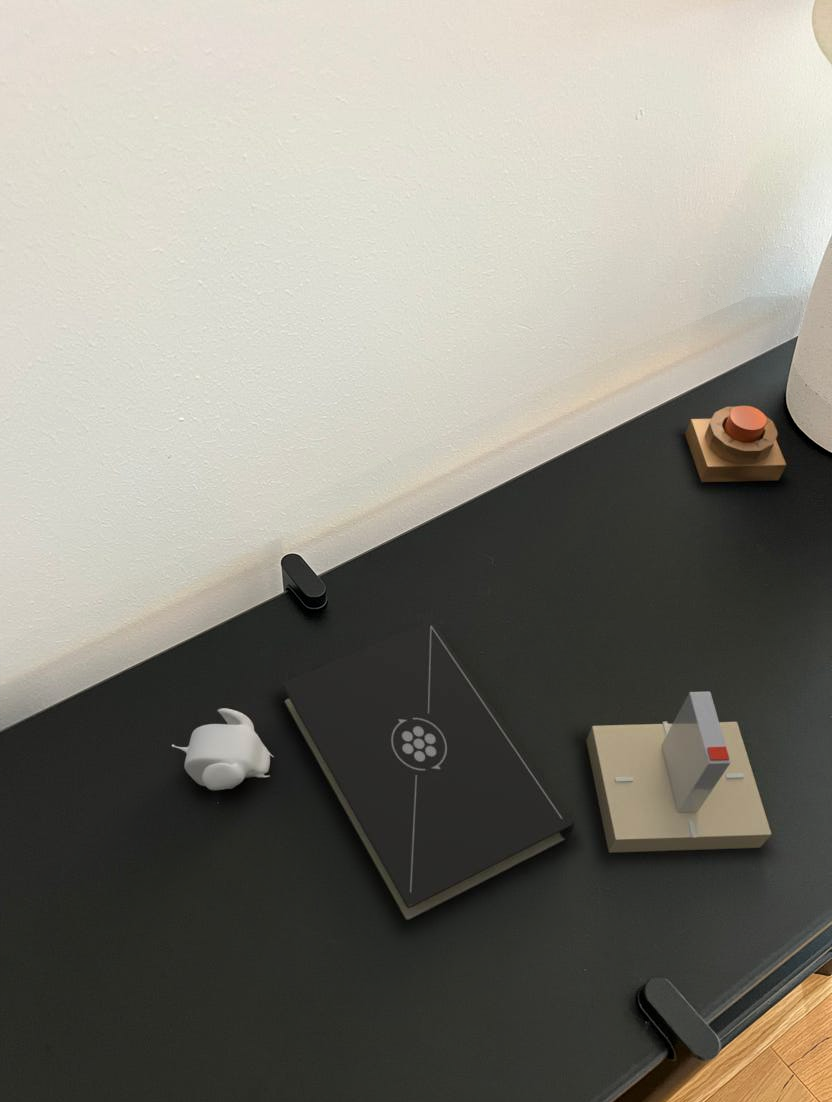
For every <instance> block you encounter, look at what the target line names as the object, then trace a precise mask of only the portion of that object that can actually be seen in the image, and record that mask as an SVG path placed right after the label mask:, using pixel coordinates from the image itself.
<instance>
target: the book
mask: <svg viewBox="0 0 832 1102" xmlns="http://www.w3.org/2000/svg"><path fill="white" fill-rule="evenodd" d="M478 684H479V683H477V682H476V680H475V678H474V677H473V676H472V675H471V673H470V672H469V669H467V666H465V664H464V663H463V662H462V660H461V658H460V657H459V655H458V654H457V653H456V651H455V650H454V648H453V647H452V646H451V645H450V642H449V641H448V640H447V639H446V637H445V636H444V634H443V633H442V632H441V630H440V628H439V627H438V626H437V624H436V623H435V622H434V620H432V621H427V622H424V623H423V624H422V623H421V624H420V625H417V626H415V627H412V628H410V629H408V630H405V631H403V632H401V633H397V634H396V635H394V636H391V637H388V638H386V639H385V640H382V641H379V642H377V643H375V644H372V645H370V646H367V647H365V648H364V649H361V650H358V651H356V652H354V653H350V654H349V655H346V656H344V657H342V658H339V659H337V660H334V661H332V662H330V663H327V664H325V665H323V666H320V667H318V668H316V669H313V670H311V671H309V672H306V673H304V674H301V675H299V676H296V677H294V678H292V679H290V680H287V681H284V682H283V683H282V688H283V690H284V692H285V693H286V695H287V697H288V698H287V699H285V700H284V701H283V703H284V705H285V707H286V709H287V710H288V713H289V714H290V716H291V718H292V720H293V721H294V723H295V725H296V727H297V728H298V730H299V731H300V734H301V736H302V737H303V740H304V741H305V743H306V745H307V746H308V748H309V750H310V752H311V754H312V755H313V758H314V759H315V761H316V763H317V765H318V766H319V768H320V770H321V771H322V773H323V775H324V777H325V778H326V780H327V782H328V784H329V786H330V787H331V789H332V791H333V793H334V795H335V796H336V798H337V800H338V802H339V804H340V806H341V808H342V809H343V811H344V813H345V814H346V817H347V818H348V820H349V822H350V823H351V825H352V827H353V829H354V830H355V832H356V834H357V836H358V838H359V840H360V842H361V843H362V845H363V848H364V849H365V850H366V852H367V854H368V855H369V858H370V859H371V861H372V863H373V865H374V866H375V869H376V870H377V872H378V874H379V875H380V877H381V879H382V881H383V882H384V884H385V886H386V888H387V890H388V892H389V894H390V895H391V897H392V899H393V901H394V902H395V904H396V906H397V908H398V909H399V911H400V913H401V915H402V917H403V919H404V921H406V922H409V921H411V920H413V919H415V918H417V917H419V916H421V915H422V914H423V915H424V914H425V913H426V912H428V911H431V910H433V909H435V908H436V907H438V906H441V905H442V904H444V903H446V902H448V901H450V900H452V899H454V898H456V897H458V896H460V895H462V894H464V893H466V892H467V891H469V890H472V889H474V888H475V887H477V886H479V885H481V884H483V883H485V882H488V881H489V880H491V879H493V878H495V877H497V876H498V875H501V874H502V873H503V874H504V873H506V871H508V870H510V869H512V868H514V867H516V866H518V865H520V864H522V863H524V862H526V861H528V860H530V859H532V858H533V857H536V856H538V855H540V854H541V853H544V852H545V851H548V850H549V849H551V848H554V847H556V846H557V845H559V844H561V843H563V842H565V841H566V840H567V839H568V838H569V837H570V835H571V834H572V832H573V830H574V828H575V822H574V820H573V818H572V817H571V816H570V814H569V812H567V810H566V808H565V807H564V805H563V804H562V802H560V800H559V798H558V797H557V796H556V794H555V793H554V791H553V789H552V788H551V787H550V786H549V785H548V782H547V781H546V780H545V779H544V777H543V776H542V774H541V773H540V772H539V770H538V769H537V767H536V765H535V764H534V762H533V761H532V760H531V758H530V757H529V755H528V754H527V753H526V751H525V750H524V748H523V747H522V746H521V744H520V743H519V742H518V740H517V739H516V737H515V736H514V734H513V733H512V731H511V730H510V728H509V727H508V726H507V724H506V723H505V721H504V720H503V718H502V717H501V716H500V714H499V713H498V711H497V710H496V709H495V707H494V705H493V704H492V703H491V701H490V700H489V699H488V697H487V696H486V694H485V693H484V691H483V690H482V689H481V687H480V685H478Z"/></svg>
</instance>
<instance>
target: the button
mask: <svg viewBox="0 0 832 1102" xmlns="http://www.w3.org/2000/svg"><path fill="white" fill-rule="evenodd" d="M766 417H767V415H766V414H765V413H764V412H763V411H761V410H760V409H759V408H756V407H754V406H751V405H738V407H735V408H734V409H732V410H731V412H730V414H729V417H728V419H727V421H726V424H725V431H726V433H727V435H728V436H730V437H731V438H732V439H734V440H737V441H740V442H743V443H751V442H754V441H756V440H758V439H759V438H760V436H761V434H762V432H763V430H764V428H765V425H766V423H767V419H766Z"/></svg>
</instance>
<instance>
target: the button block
mask: <svg viewBox="0 0 832 1102" xmlns="http://www.w3.org/2000/svg"><path fill="white" fill-rule="evenodd" d="M738 406H739V405H738ZM738 406H725V407H723V408H721V409H719V410H717V411H715V412H713V415H712V416H711V418H691V419H690V421H689V423H688V426H687V428H686V431H685V433H684V435H685V439H686V441H687V444H688V447H689V450H690V454H691V456H692V459H693V462H694V465H695V467H696V470H697V471H696V472H697V474H698V476H699V480H700V482H701V483H718V482H719V483H724V482H768V481H773V482H774V481H779V480H780V478H781V477H782V474H783V472H784V470H785V469H786V467H787V463H786V460H785V458H784V455H783V454H782V453H783V452H782V450H781V448H780V446H779V444H778V441H777V437H778V434H779V432H778V430H777V427H776V425H775V423H774V421H773V420H771V418H769V417H768V416H766V419H767V423H766V425H765V428H764V430H763V432H762V434H761V436H760V438H759V439H758V440H756V441H754V442H751V443H743V442H740V441H737V440H734V439H732V438H731V437H730V436H728V435H727V433H726V431H725V424H726V421H727V419H728V417H729V414H730V412H731V410H732V409H734V408H735V407H738Z"/></svg>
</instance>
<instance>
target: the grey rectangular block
mask: <svg viewBox="0 0 832 1102" xmlns="http://www.w3.org/2000/svg"><path fill="white" fill-rule="evenodd" d="M719 722H720V721H719V717H718V714H717V710H716V706H715V703H714V699H713V696H712V693H711V691H690V692H689V693H687V696H686V697H685V699H684V701H683V704H682V706H681V707H680V709H679V711H678V713H677V715H676V717H675V719H674V721H673V722H672V723H671V724H672V726H671V728H670V730H669V732H668V734H667V735H666V737H665V739H664V741H663V743H662V749H663V754H664V758H665V762H666V766H667V770H668V774H669V778H670V782H671V787H672V791H673V795H674V799H675V803H676V807H677V811H678V812H698V811H699V809H700V808H701V806H702V805H703V803H704V802H705V800H706V799H707V797H708V796H709V794H710V793H711V791H712V790H713V788H714V787H715V785H716V784H717V782H718V781H719V780H720V778H721V777H722V775H723V774H724V772H725V771H726V769H727V768H728V766H729V765H730V763H731V762H730V759H729V755H728V752H727V748H726V745H725V741H724V738H723V734H722V731H721V727H720V724H719Z"/></svg>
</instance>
